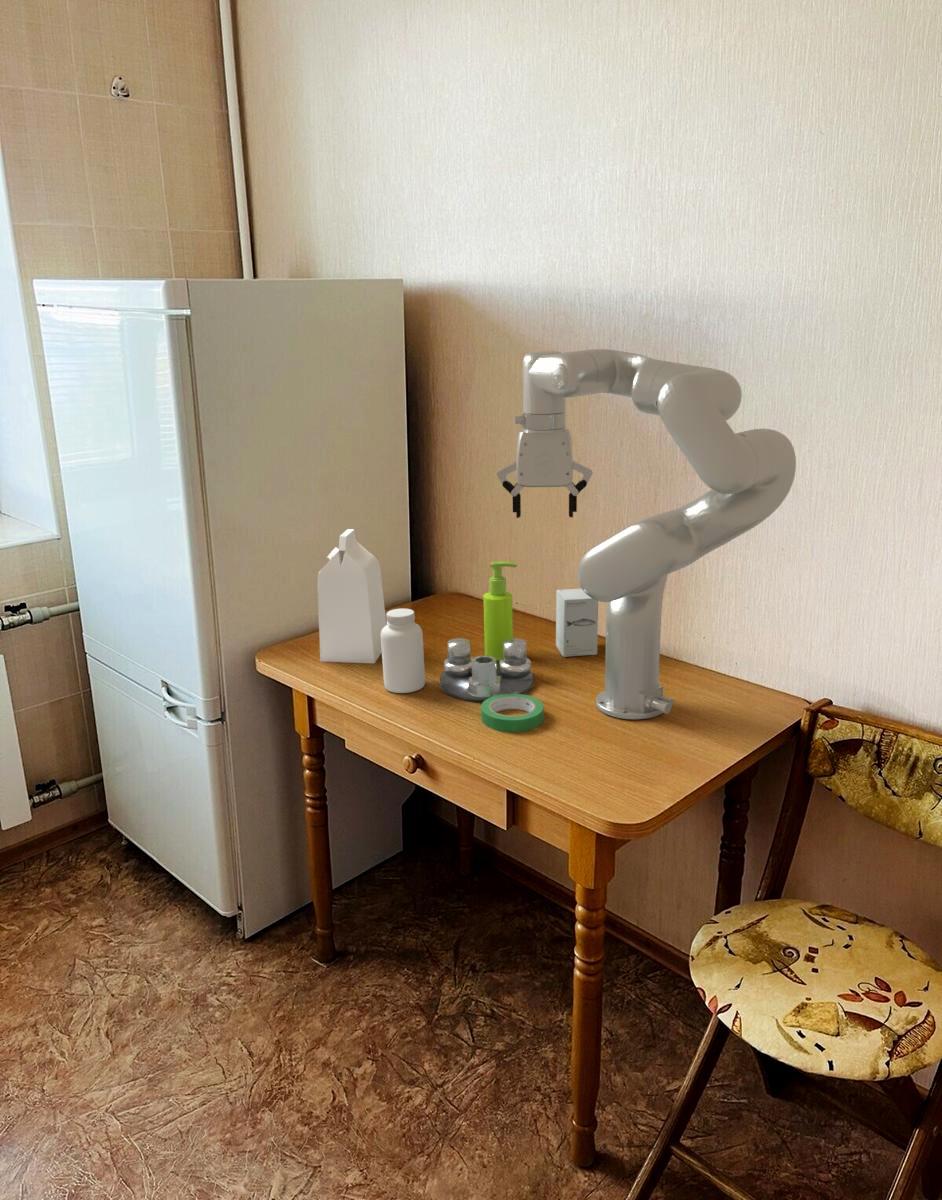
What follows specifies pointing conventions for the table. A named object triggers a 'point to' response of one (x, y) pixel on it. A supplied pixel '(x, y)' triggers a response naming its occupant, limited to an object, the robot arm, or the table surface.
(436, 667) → the table surface
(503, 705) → the tape roll
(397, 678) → the pill bottle
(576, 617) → the supplement box
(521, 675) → the carrier
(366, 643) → the milk
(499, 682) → the octagonal collar pipe
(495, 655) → the soap dispenser
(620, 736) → the table surface
